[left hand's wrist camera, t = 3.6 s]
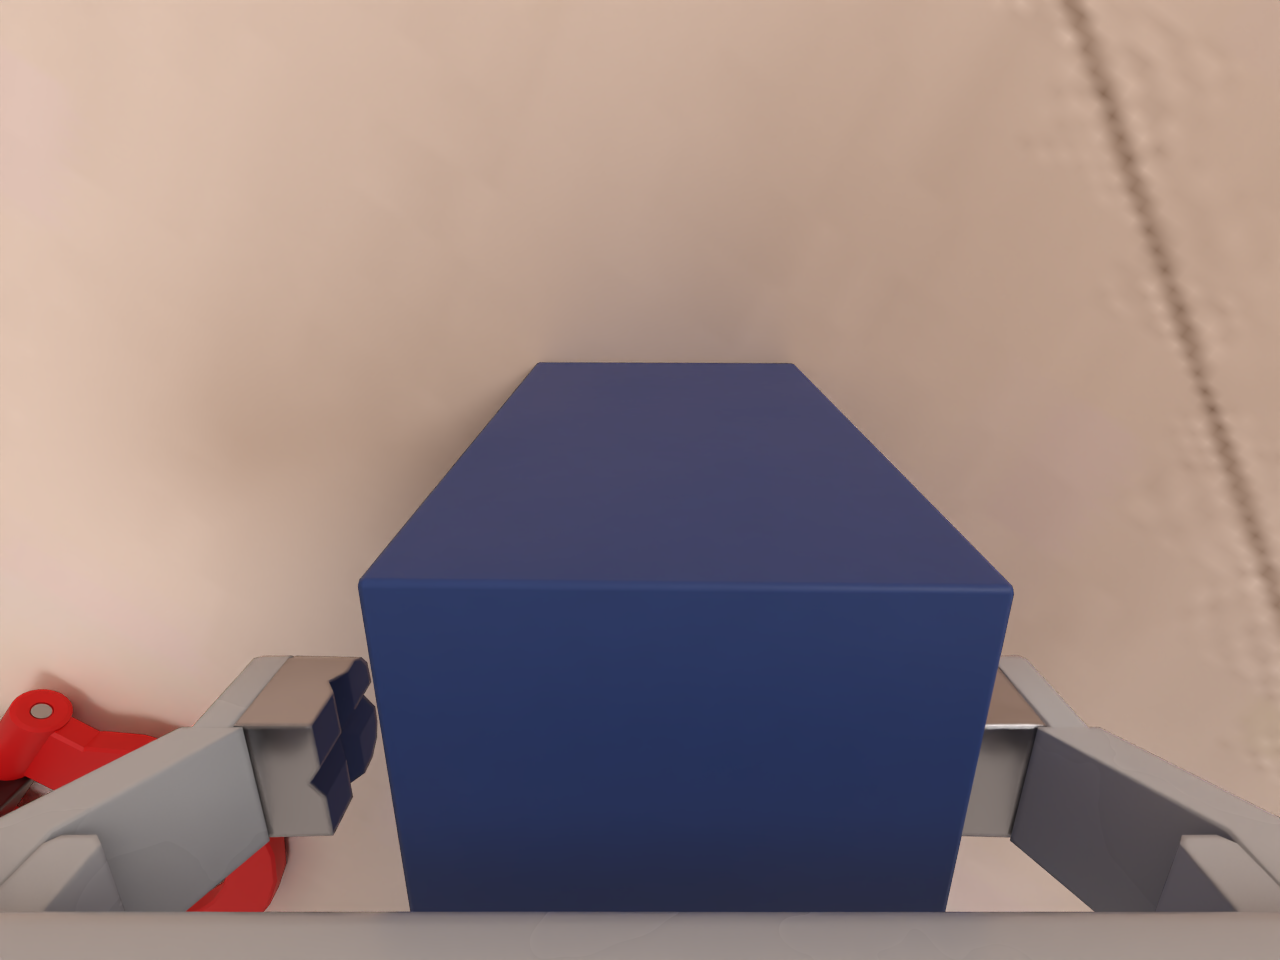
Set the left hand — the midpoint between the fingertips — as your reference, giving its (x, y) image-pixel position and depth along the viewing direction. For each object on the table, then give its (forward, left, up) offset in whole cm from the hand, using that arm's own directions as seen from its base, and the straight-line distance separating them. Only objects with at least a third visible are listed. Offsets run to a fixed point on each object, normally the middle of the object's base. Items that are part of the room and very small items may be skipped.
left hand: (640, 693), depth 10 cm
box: (+10, +3, -8) cm, 13 cm away
